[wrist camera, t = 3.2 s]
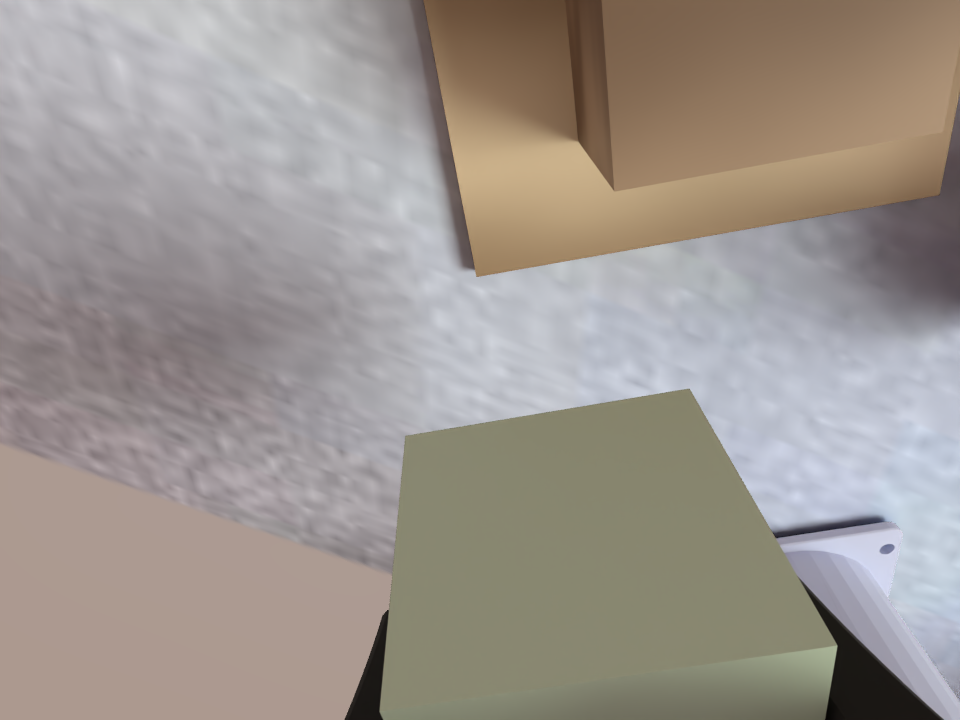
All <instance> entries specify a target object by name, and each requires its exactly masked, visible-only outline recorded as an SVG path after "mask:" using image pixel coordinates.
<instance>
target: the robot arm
mask: <svg viewBox="0 0 960 720" xmlns="http://www.w3.org/2000/svg"><path fill="white" fill-rule="evenodd" d="M902 538H903V532H902V531H901V530H900V528H899V527H898V526H897V525H896V524H895V523H893V522H881V523H874V524H867V525H861V526H854V527H847V528H841V529H834V530H828V531H821V532H814V533H808V534H801V535H794V536H788V537H781V538H776V540H777V541H778V543H779V545H780V547H781V548H782V550H783V552H784V554H785V555H786V557H787V559H788V561H789V562H790V564H791V566H792V568H793V569H794V571H795V573H796V574H797V576H798V578H799V580H800V581H801V583H802V585H803V587H804V588H805V590H806V592H807V594H808V595H809V597H810V599H811V600H812V602H813V604H814V606H815V607H816V609H817V611H818V613H819V614H820V616H821V618H822V620H823V621H824V623H825V625H826V627H827V628H828V630H829V632H830V633H831V635H832V637H833V639H834V640H835V642H836V644H837V652H836V658H835V663H834V669H833V675H832V681H831V687H830V693H829V699H828V705H827V711H826V717H825V720H960V701H959V700H958V699H957V697H956V696H955V694H954V693H953V691H952V690H951V688H950V687H949V685H948V684H947V683H946V681H945V680H944V678H943V677H942V675H941V674H940V672H939V671H938V670H937V668H936V667H935V665H934V664H933V662H932V661H931V659H930V658H929V657H928V655H927V654H926V652H925V651H924V649H923V648H922V646H921V645H920V644H919V642H918V641H917V639H916V638H915V636H914V635H913V633H912V632H911V630H910V629H909V628H908V626H907V625H906V623H905V622H904V620H903V619H902V617H901V616H900V615H899V613H898V612H897V610H896V609H895V607H894V606H893V604H892V603H891V602H890V600H889V599H888V598H889V593H890V589H891V585H892V581H893V576H894V572H895V568H896V563H897V559H898V555H899V551H900V546H901V542H902ZM388 616H389V610H387V611H386V612H385V614H384V615H383V616H382V620H381V622H380V626H379V629H378V632H377V635H376V638H375V641H374V644H373V647H372V650H371V653H370V656H369V659H368V661H367V664H366V667H365V669H364V672H363V675H362V677H361V680H360V683H359V685H358V688H357V690H356V693H355V696H354V698H353V701H352V703H351V705H350V708H349V710H348V713H347V715H346V718H345V720H383V718H382V716H381V714H380V701H381V690H382V680H383V669H384V658H385V648H386V637H387V626H388Z"/></svg>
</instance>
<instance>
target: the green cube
mask: <svg viewBox="0 0 960 720" xmlns="http://www.w3.org/2000/svg"><path fill="white" fill-rule="evenodd" d="M836 652H837V644H836V642H835V640H834V639H833V637H832V635H831V633H830V632H829V630H828V628H827V627H826V625H825V623H824V621H823V620H822V618H821V616H820V614H819V613H818V611H817V609H816V607H815V606H814V604H813V602H812V600H811V599H810V597H809V595H808V594H807V592H806V590H805V588H804V587H803V585H802V583H801V581H800V580H799V578H798V576H797V574H796V573H795V571H794V569H793V568H792V566H791V564H790V562H789V561H788V559H787V557H786V555H785V554H784V552H783V550H782V548H781V547H780V545H779V543H778V541H777V540H776V538H775V536H774V535H773V533H772V531H771V529H770V528H769V526H768V524H767V522H766V521H765V519H764V517H763V515H762V514H761V512H760V510H759V509H758V507H757V505H756V503H755V502H754V500H753V498H752V496H751V495H750V493H749V491H748V489H747V488H746V486H745V484H744V482H743V481H742V479H741V477H740V476H739V474H738V472H737V470H736V469H735V467H734V465H733V463H732V462H731V460H730V458H729V456H728V455H727V453H726V451H725V450H724V448H723V446H722V444H721V443H720V441H719V439H718V437H717V436H716V434H715V432H714V430H713V429H712V427H711V425H710V424H709V422H708V420H707V418H706V417H705V415H704V413H703V411H702V410H701V408H700V406H699V404H698V403H697V401H696V399H695V397H694V396H693V394H692V392H691V391H690V389H684V390H678V391H672V392H666V393H660V394H654V395H648V396H642V397H636V398H630V399H624V400H618V401H612V402H606V403H600V404H594V405H588V406H582V407H576V408H570V409H564V410H558V411H552V412H546V413H540V414H534V415H528V416H522V417H516V418H510V419H504V420H498V421H492V422H486V423H480V424H474V425H468V426H462V427H456V428H450V429H444V430H438V431H432V432H426V433H420V434H414V435H408V436H405V445H404V456H403V466H402V477H401V488H400V498H399V509H398V520H397V530H396V541H395V552H394V562H393V573H392V584H391V594H390V605H389V616H388V626H387V637H386V648H385V658H384V669H383V680H382V690H381V701H380V714H381V716H382V718H383V720H825V717H826V711H827V705H828V699H829V693H830V687H831V681H832V675H833V669H834V663H835V658H836Z"/></svg>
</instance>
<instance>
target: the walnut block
mask: <svg viewBox="0 0 960 720" xmlns="http://www.w3.org/2000/svg"><path fill="white" fill-rule="evenodd" d="M565 3H566V14H567V25H568V36H569V47H570V57H571V68H572V79H573V90H574V101H575V112H576V122H577V133H578V142H579V143H580V145H581V146H582V147H583V149H584V150H585V152H586V153H587V154H588V156H589V157H590V159H591V160H592V161H593V163H594V164H595V165H596V167H597V168H598V170H599V171H600V172H601V174H602V175H603V177H604V178H605V179H606V181H607V182H608V184H609V185H610V186H611V188H612V189H613V190H614V192H616V191H621V190H627V189H632V188H638V187H643V186H649V185H654V184H660V183H665V182H671V181H676V180H682V179H687V178H693V177H698V176H704V175H709V174H715V173H720V172H726V171H731V170H736V169H742V168H747V167H753V166H758V165H764V164H769V163H775V162H780V161H786V160H791V159H797V158H802V157H808V156H813V155H819V154H824V153H830V152H835V151H841V150H846V149H852V148H857V147H863V146H868V145H874V144H879V143H885V142H890V141H896V140H901V139H907V138H912V137H918V136H923V135H929V134H934V133H940V132H943V130H944V124H945V119H946V114H947V109H948V103H949V98H950V93H951V88H952V82H953V77H954V72H955V67H956V62H957V56H958V51H959V46H960V0H565Z"/></svg>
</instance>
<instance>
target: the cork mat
mask: <svg viewBox="0 0 960 720" xmlns="http://www.w3.org/2000/svg"><path fill="white" fill-rule="evenodd" d="M423 1H424V6H425V11H426V17H427V22H428V27H429V32H430V37H431V43H432V48H433V53H434V58H435V63H436V69H437V74H438V79H439V84H440V89H441V95H442V100H443V105H444V110H445V115H446V121H447V126H448V131H449V136H450V141H451V147H452V152H453V157H454V162H455V167H456V173H457V178H458V183H459V188H460V193H461V199H462V204H463V209H464V214H465V219H466V225H467V230H468V235H469V240H470V245H471V251H472V256H473V261H474V266H475V272H476V277H479V276H485V275H490V274H496V273H502V272H507V271H513V270H519V269H524V268H530V267H536V266H541V265H547V264H553V263H558V262H564V261H570V260H575V259H581V258H587V257H592V256H598V255H604V254H609V253H615V252H620V251H626V250H632V249H637V248H643V247H649V246H654V245H660V244H666V243H671V242H677V241H683V240H688V239H694V238H700V237H705V236H711V235H717V234H722V233H728V232H734V231H739V230H745V229H751V228H756V227H762V226H768V225H773V224H779V223H784V222H790V221H796V220H801V219H807V218H813V217H818V216H824V215H830V214H835V213H841V212H847V211H852V210H858V209H864V208H869V207H875V206H881V205H886V204H892V203H898V202H903V201H909V200H915V199H920V198H926V197H932V196H937V195H940V189H941V184H942V179H943V174H944V169H945V164H946V159H947V154H948V149H949V144H950V139H951V134H952V129H953V124H954V119H955V114H956V109H957V104H958V99H959V94H960V46H959V51H958V56H957V62H956V67H955V72H954V77H953V82H952V88H951V93H950V98H949V103H948V109H947V114H946V119H945V124H944V130H943V132H940V133H934V134H929V135H923V136H918V137H912V138H907V139H901V140H896V141H890V142H885V143H879V144H874V145H868V146H863V147H857V148H852V149H846V150H841V151H835V152H830V153H824V154H819V155H813V156H808V157H802V158H797V159H791V160H786V161H780V162H775V163H769V164H764V165H758V166H753V167H747V168H742V169H736V170H731V171H726V172H720V173H715V174H709V175H704V176H698V177H693V178H687V179H682V180H676V181H671V182H665V183H660V184H654V185H649V186H643V187H638V188H632V189H627V190H621V191H616V192H614V190H613V189H612V188H611V186H610V185H609V184H608V182H607V181H606V179H605V178H604V177H603V175H602V174H601V172H600V171H599V170H598V168H597V167H596V165H595V164H594V163H593V161H592V160H591V159H590V157H589V156H588V154H587V153H586V152H585V150H584V149H583V147H582V146H581V145H580V143H579V142H578V133H577V122H576V112H575V101H574V90H573V79H572V68H571V57H570V47H569V36H568V25H567V14H566V3H565V0H423Z"/></svg>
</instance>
